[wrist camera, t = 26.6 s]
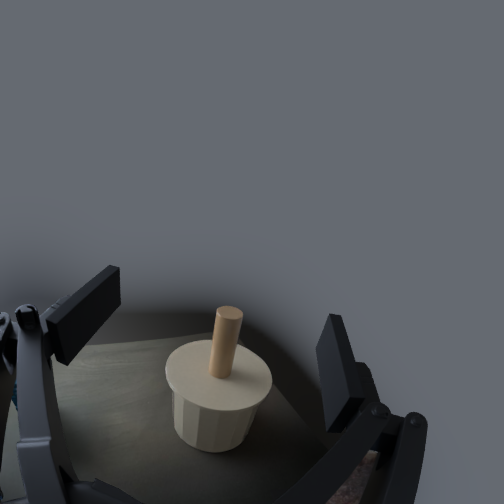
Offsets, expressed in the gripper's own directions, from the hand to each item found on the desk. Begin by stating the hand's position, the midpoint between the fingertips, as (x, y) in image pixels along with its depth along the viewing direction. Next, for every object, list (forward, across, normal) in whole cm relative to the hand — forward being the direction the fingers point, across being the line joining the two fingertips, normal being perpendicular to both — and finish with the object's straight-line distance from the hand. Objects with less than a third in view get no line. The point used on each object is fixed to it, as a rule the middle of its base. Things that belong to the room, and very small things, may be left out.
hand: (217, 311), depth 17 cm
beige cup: (+14, 0, -32) cm, 35 cm away
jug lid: (+12, 0, -18) cm, 22 cm away
